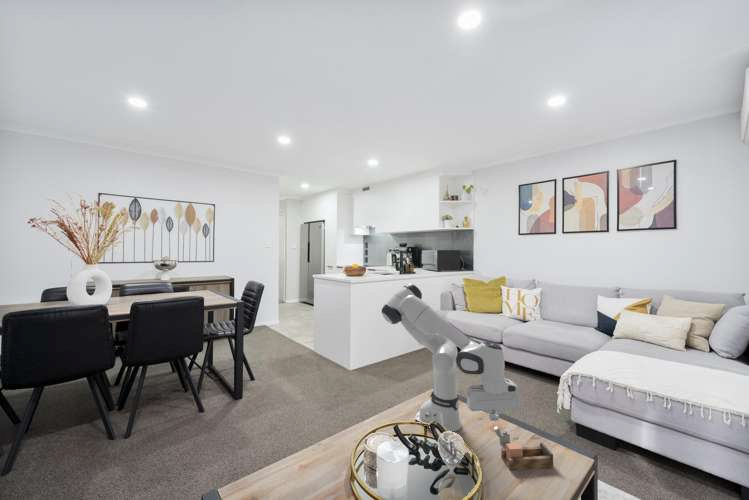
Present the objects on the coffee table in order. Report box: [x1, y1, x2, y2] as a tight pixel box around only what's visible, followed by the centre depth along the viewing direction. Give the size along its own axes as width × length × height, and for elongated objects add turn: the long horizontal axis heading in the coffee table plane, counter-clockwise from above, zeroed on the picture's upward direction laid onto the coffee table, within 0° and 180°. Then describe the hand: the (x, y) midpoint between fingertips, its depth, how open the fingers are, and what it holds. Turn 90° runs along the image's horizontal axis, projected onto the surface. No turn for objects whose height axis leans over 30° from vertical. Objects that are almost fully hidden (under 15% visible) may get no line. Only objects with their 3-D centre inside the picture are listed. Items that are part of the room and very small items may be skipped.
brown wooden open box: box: [500, 442, 554, 472], centre depth 121 cm, size 17×7×5 cm, turn 93°
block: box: [505, 442, 523, 461], centre depth 120 cm, size 5×3×6 cm
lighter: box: [493, 425, 511, 446], centre depth 133 cm, size 7×2×8 cm, turn 107°
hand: (493, 419), depth 120 cm, fingers closed
